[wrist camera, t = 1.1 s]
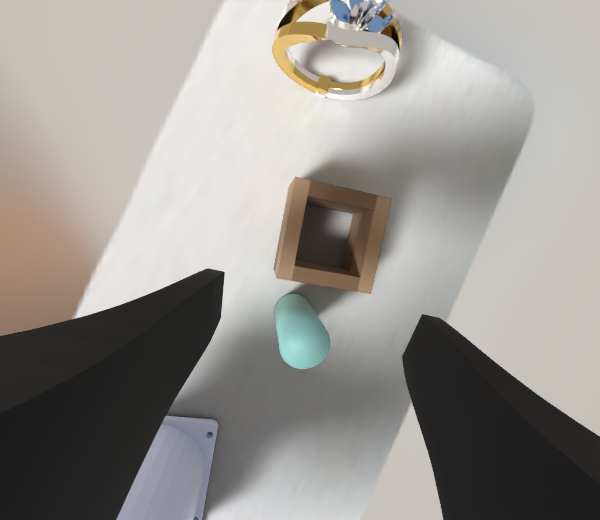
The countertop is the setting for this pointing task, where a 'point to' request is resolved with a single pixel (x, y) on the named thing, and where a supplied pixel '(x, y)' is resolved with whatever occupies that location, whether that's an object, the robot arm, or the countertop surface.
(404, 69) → the countertop surface
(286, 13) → the ring
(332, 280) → the bead block
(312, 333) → the teal cylinder
